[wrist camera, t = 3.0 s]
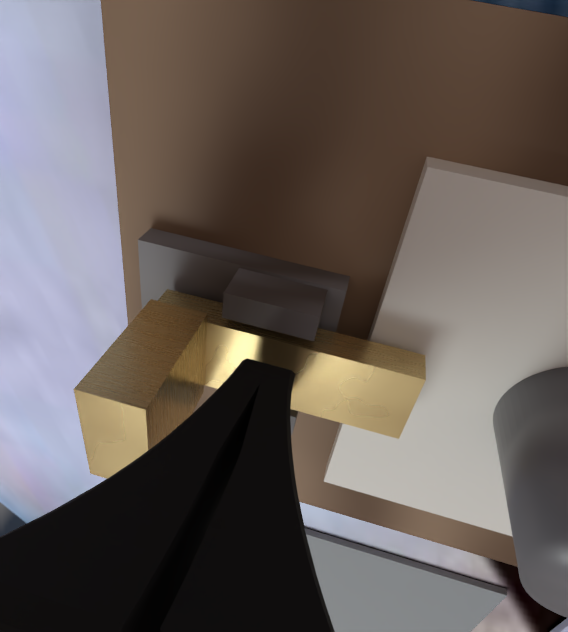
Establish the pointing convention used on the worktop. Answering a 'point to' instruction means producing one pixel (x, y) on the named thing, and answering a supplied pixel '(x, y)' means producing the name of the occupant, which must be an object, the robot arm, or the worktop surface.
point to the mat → (395, 591)
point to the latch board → (316, 164)
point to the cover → (479, 367)
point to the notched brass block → (218, 364)
